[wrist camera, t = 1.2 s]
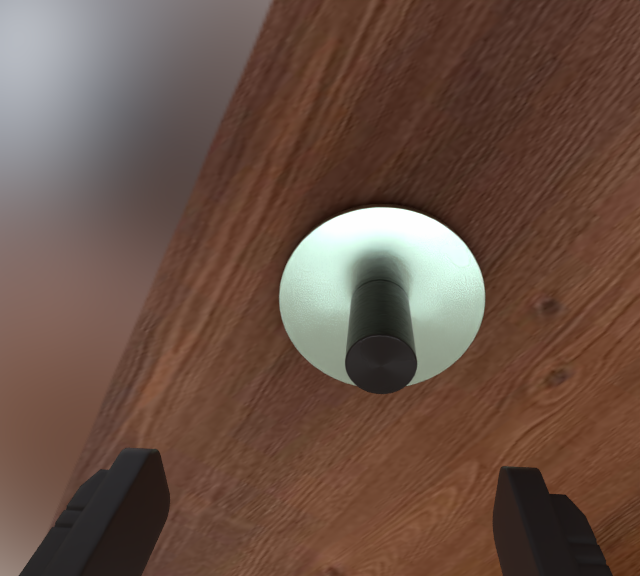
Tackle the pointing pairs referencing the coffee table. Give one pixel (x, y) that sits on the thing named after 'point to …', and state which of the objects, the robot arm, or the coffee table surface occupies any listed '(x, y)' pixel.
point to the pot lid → (382, 297)
